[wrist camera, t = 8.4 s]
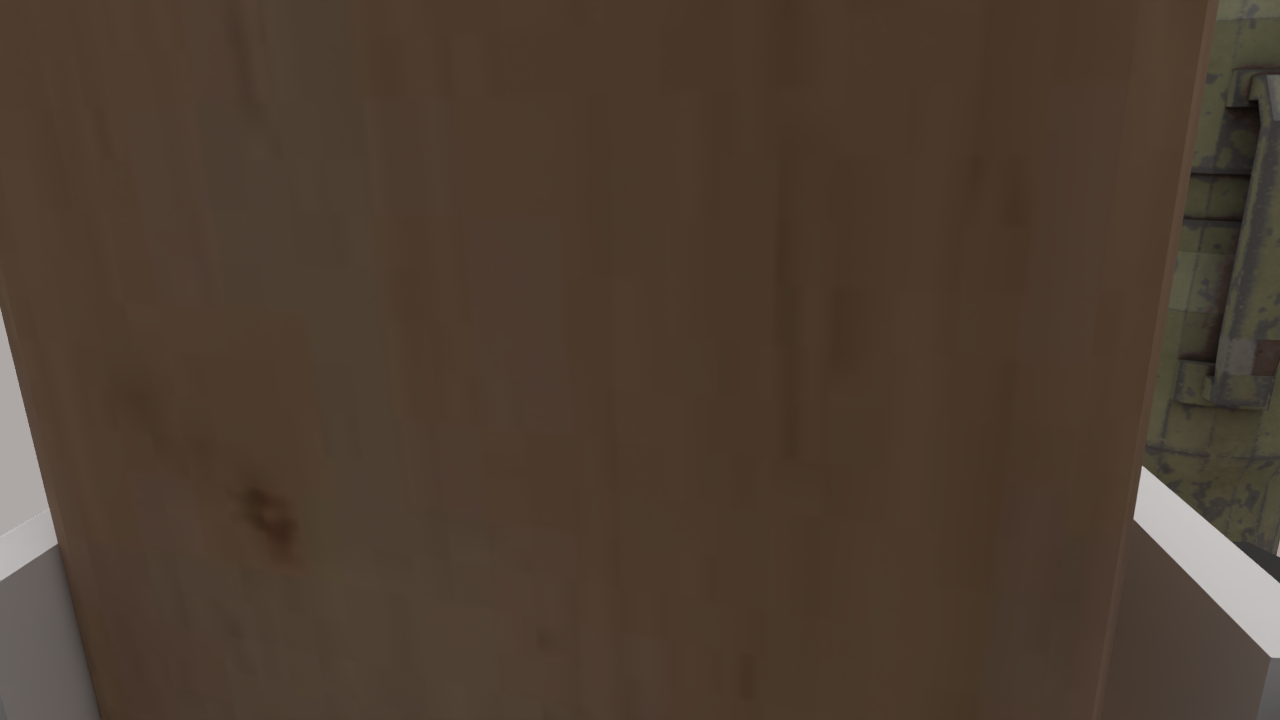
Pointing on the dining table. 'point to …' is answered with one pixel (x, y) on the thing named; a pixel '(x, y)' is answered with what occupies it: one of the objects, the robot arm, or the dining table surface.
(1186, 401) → the thermos
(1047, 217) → the wooden block
